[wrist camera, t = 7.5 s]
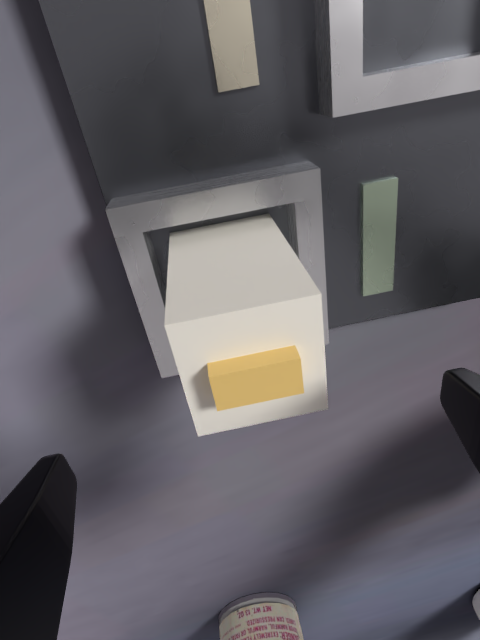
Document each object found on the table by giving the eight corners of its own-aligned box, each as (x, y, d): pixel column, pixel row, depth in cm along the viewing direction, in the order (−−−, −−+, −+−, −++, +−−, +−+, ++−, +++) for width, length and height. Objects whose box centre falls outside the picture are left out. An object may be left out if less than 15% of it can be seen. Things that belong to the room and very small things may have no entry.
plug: (279, 300, 18) (334, 423, 12) (191, 318, 18) (199, 452, 12) (268, 213, 16) (329, 305, 10) (169, 232, 16) (163, 339, 10)
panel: (471, 285, 21) (507, 311, 18) (160, 348, 20) (157, 383, 18) (564, -293, 11) (664, -389, 9) (-17, -197, 11) (-70, -272, 8)
